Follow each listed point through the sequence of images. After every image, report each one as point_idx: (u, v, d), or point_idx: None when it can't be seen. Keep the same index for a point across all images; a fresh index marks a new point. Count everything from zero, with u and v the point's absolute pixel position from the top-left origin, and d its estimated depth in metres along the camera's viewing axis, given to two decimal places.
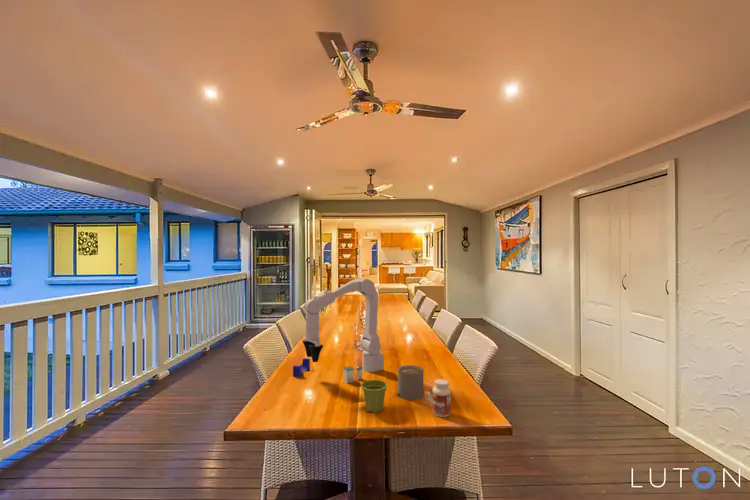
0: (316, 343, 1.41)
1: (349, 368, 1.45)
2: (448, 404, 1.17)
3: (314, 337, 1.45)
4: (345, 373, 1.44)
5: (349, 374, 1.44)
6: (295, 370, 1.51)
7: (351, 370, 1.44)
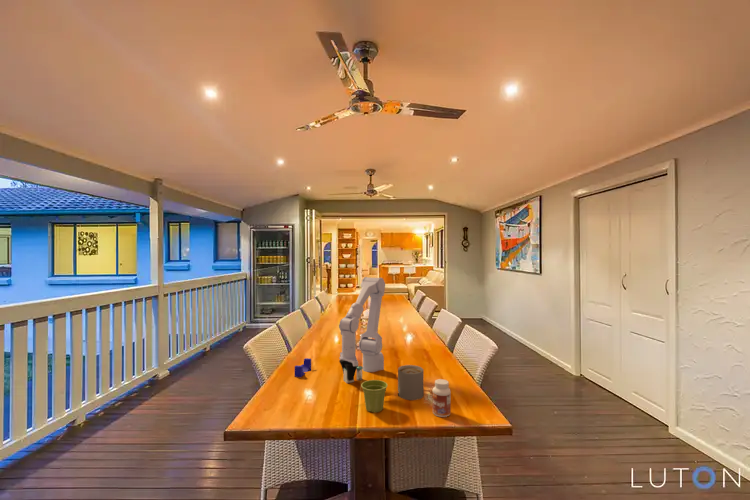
0: (354, 363, 1.39)
1: None
2: (448, 404, 1.17)
3: (351, 356, 1.43)
4: (345, 373, 1.44)
5: None
6: (297, 370, 1.51)
7: None
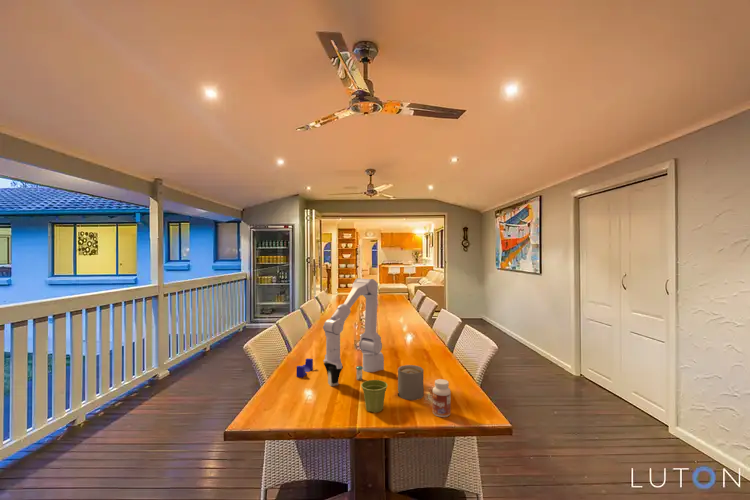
0: (338, 366, 1.35)
1: None
2: (448, 404, 1.17)
3: (335, 359, 1.40)
4: (329, 376, 1.41)
5: None
6: (299, 371, 1.50)
7: None
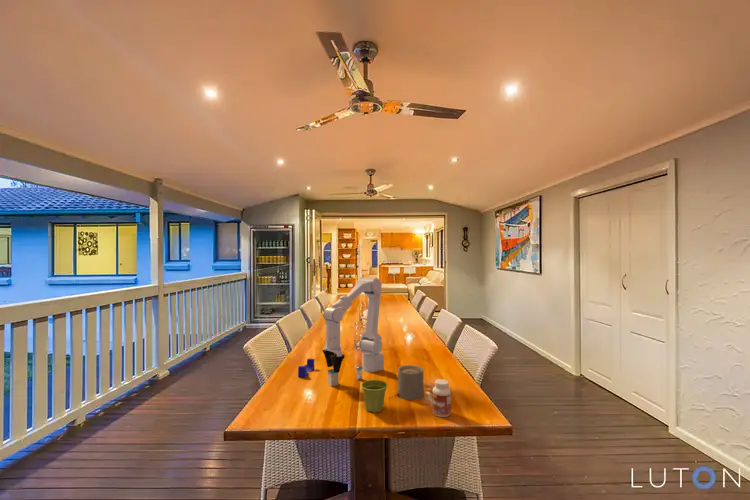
0: (338, 353, 1.36)
1: (333, 371, 1.42)
2: (448, 404, 1.17)
3: (335, 347, 1.40)
4: (329, 376, 1.41)
5: (333, 377, 1.40)
6: (301, 371, 1.50)
7: (336, 373, 1.41)
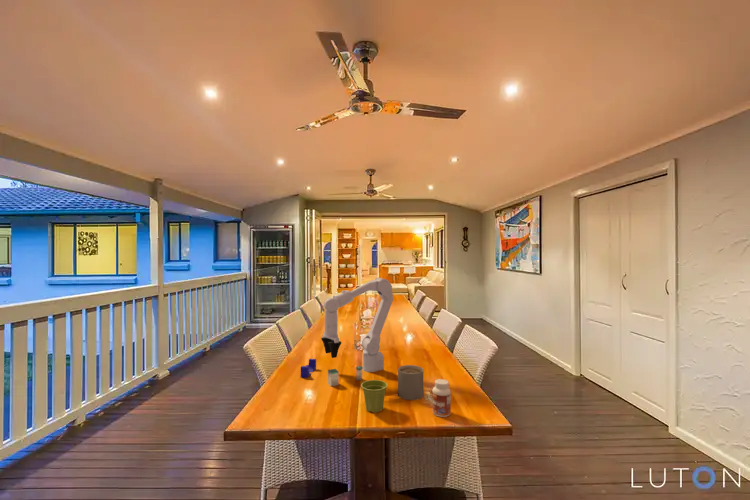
0: (335, 340, 1.49)
1: (333, 371, 1.42)
2: (448, 404, 1.17)
3: (333, 334, 1.53)
4: (329, 376, 1.41)
5: (333, 377, 1.40)
6: (303, 371, 1.50)
7: (336, 373, 1.41)
